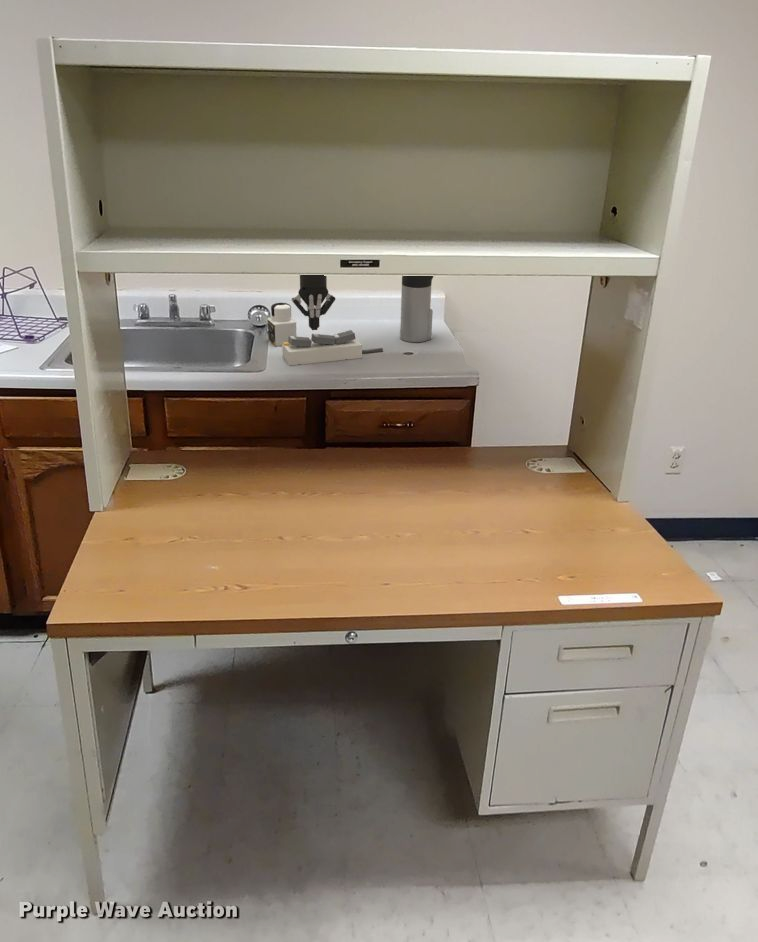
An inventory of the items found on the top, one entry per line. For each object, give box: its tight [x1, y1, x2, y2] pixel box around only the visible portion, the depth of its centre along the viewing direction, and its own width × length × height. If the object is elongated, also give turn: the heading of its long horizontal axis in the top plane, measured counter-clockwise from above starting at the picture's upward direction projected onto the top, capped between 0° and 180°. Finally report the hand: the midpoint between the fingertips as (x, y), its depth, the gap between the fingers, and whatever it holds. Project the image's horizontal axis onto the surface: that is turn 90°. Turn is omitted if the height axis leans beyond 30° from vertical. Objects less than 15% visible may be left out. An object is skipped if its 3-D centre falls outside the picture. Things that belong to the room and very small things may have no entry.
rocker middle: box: [310, 333, 335, 345], centre depth 221 cm, size 6×4×2 cm, turn 111°
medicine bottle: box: [267, 302, 298, 347], centre depth 233 cm, size 7×7×12 cm
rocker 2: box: [331, 329, 357, 344], centre depth 223 cm, size 6×4×2 cm, turn 110°
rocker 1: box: [288, 335, 312, 347], centre depth 219 cm, size 6×4×2 cm, turn 111°
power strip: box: [281, 339, 384, 366], centre depth 224 cm, size 30×8×5 cm, turn 111°
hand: (314, 329), depth 219 cm, fingers closed
